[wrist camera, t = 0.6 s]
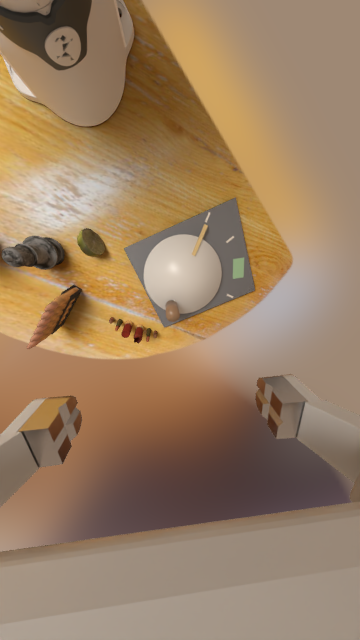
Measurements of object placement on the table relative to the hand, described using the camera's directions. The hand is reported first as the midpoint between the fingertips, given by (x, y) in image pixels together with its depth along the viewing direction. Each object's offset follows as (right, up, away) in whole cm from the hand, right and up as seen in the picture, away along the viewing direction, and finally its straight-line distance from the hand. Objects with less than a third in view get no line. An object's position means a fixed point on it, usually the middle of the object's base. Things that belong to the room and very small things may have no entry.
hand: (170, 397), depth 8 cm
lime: (-17, +19, +28) cm, 38 cm away
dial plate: (+4, +15, +33) cm, 36 cm away
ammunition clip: (-26, +7, +33) cm, 43 cm away
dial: (+2, +14, +31) cm, 34 cm away
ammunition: (-11, +2, +37) cm, 39 cm away
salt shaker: (-26, +18, +28) cm, 42 cm away
